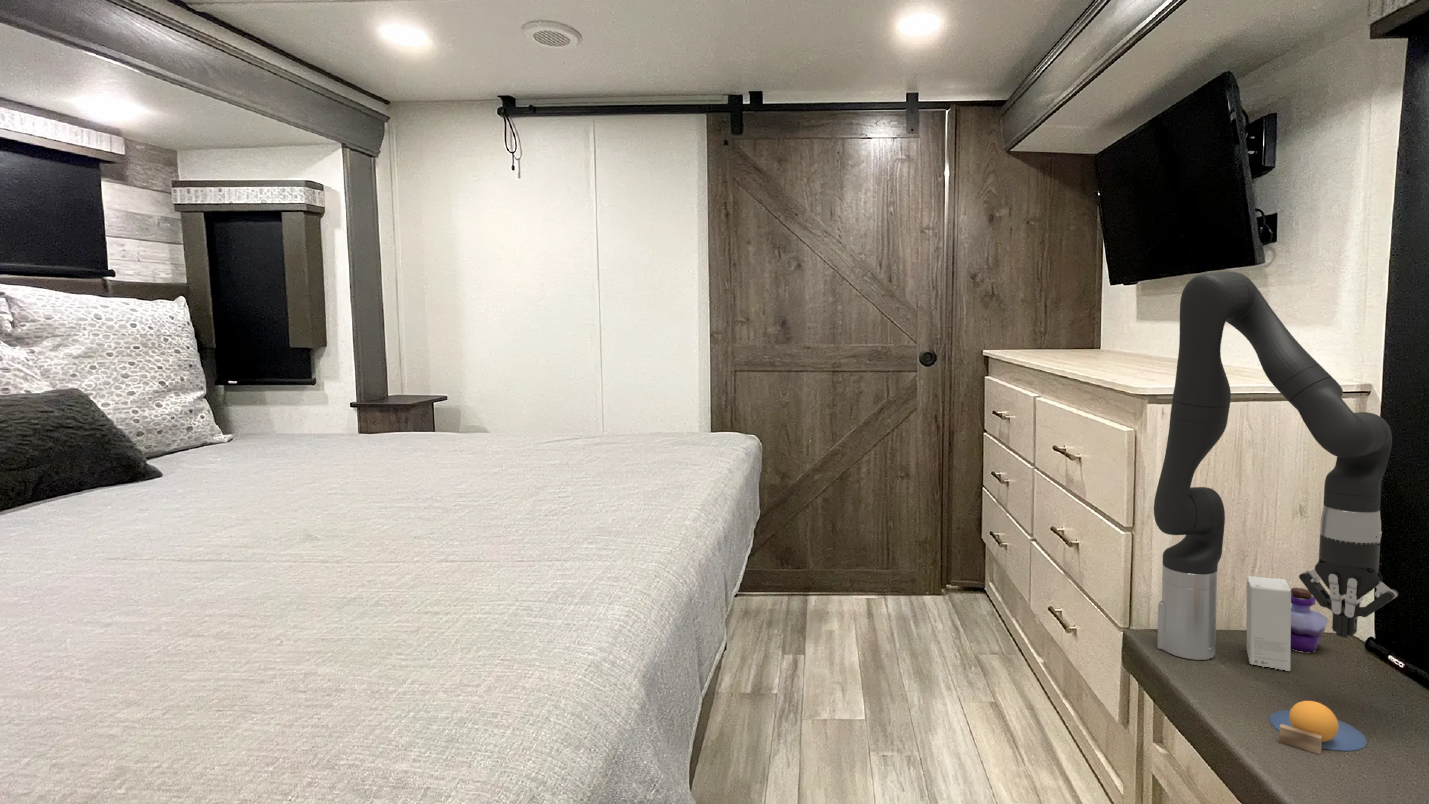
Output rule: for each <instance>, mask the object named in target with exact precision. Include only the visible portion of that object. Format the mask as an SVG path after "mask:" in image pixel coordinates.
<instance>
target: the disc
mask: <svg viewBox="0 0 1429 804" xmlns="http://www.w3.org/2000/svg"><path fill="white" fill-rule="evenodd" d="M1290 710H1291V709H1286V710H1285V709H1284V710H1278V711H1276V712H1273V713H1272V714H1271V715H1270V716H1269V721H1270V724H1271V725H1272V726H1273V727H1274V729H1275V730H1277V731H1278V732H1279V730H1280V725H1281V724H1283V725H1287V726H1290V727H1292V725H1291V723H1290V719H1289V714H1290ZM1337 721H1338V726H1339V728H1338V732H1337V734H1336V736H1335V737H1334V738H1333V739H1331V740H1329V741H1327V742H1322V748H1321V749H1324V750H1329V751H1337V752H1355V751H1360V750H1362V749H1364V748H1365V747H1366V746H1367V738H1366V736H1365V735H1364V734H1363V733H1362V732H1361V731H1360V730H1358V729H1357V728H1355V727H1353V726H1352V725H1350V724H1348V723H1346V722H1344V721H1342V720H1339V719H1337Z"/></svg>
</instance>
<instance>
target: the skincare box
mask: <svg viewBox="0 0 1429 804" xmlns="http://www.w3.org/2000/svg"><path fill="white" fill-rule="evenodd" d="M1291 604H1292V603H1291V588H1290V586H1289V584H1288V582H1287V580H1286V579H1285V578H1284V579H1282V578H1275V577H1273V578H1272V577H1262V576H1253V575H1247V576H1246V654H1248V655H1247V657H1248V658H1249V659H1248V658H1247V659H1248V662H1249V664H1254V665H1258V666H1262V667H1261V668H1264V667H1270V668H1275V669H1274V670H1277V669H1279V670H1278V671H1283V670H1285V672H1291V651H1292V650H1291ZM1258 666H1257V667H1258ZM1270 668H1269V669H1270Z"/></svg>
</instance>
